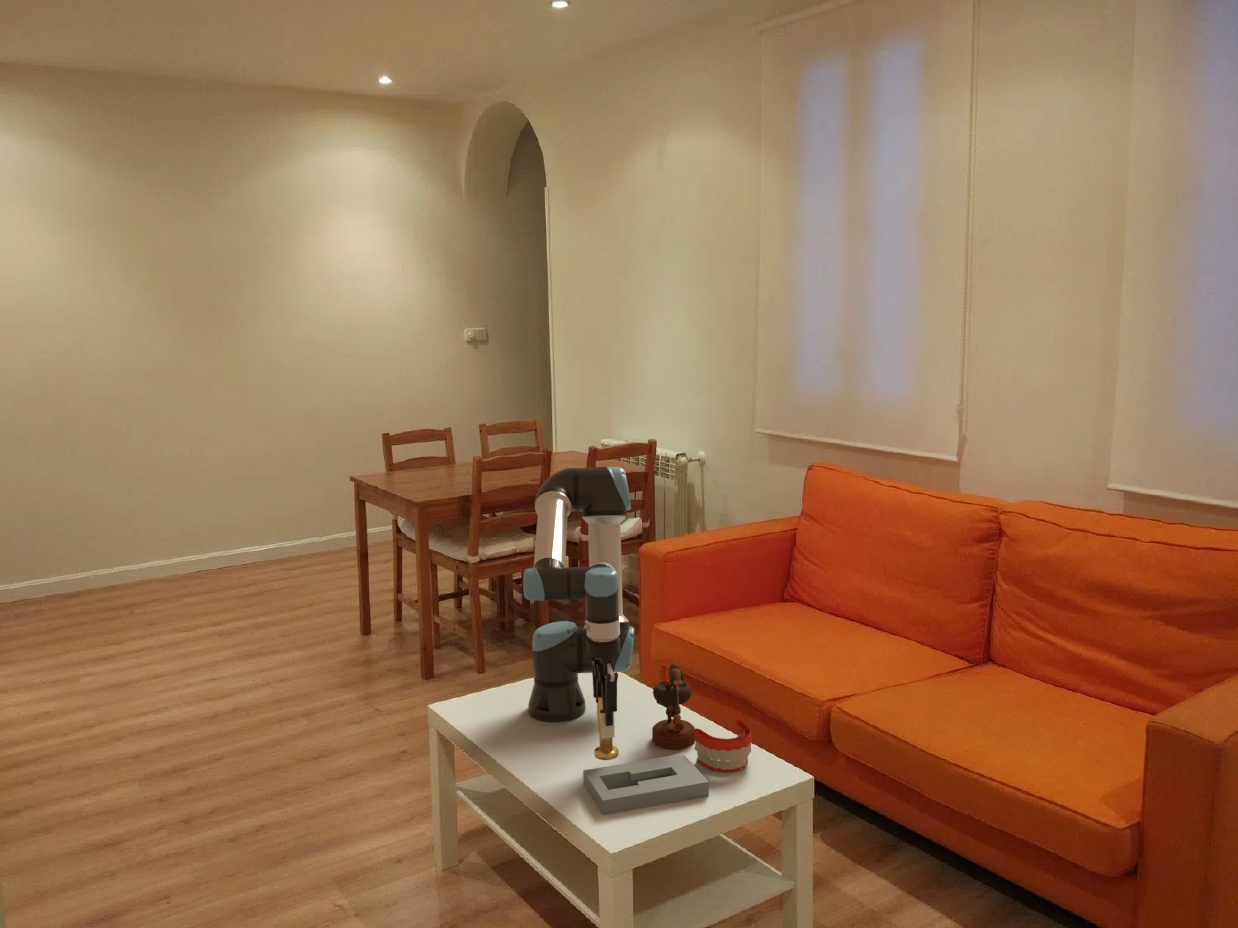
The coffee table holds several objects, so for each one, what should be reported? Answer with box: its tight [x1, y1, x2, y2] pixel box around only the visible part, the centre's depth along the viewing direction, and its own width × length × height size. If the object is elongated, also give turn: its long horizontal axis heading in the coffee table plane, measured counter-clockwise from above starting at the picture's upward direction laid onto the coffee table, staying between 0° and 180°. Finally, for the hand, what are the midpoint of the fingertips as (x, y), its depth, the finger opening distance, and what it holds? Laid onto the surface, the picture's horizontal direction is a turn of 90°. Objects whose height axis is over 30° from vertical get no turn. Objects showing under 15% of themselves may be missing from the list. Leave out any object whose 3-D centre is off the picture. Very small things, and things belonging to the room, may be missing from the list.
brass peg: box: [593, 695, 620, 761], centre depth 233 cm, size 6×6×14 cm
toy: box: [694, 719, 753, 773], centre depth 234 cm, size 12×10×8 cm
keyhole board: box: [582, 753, 710, 815], centre depth 223 cm, size 15×24×3 cm, turn 108°
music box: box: [651, 662, 696, 751], centre depth 247 cm, size 15×11×20 cm
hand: (605, 733), depth 233 cm, fingers closed on brass peg, 3 cm apart
